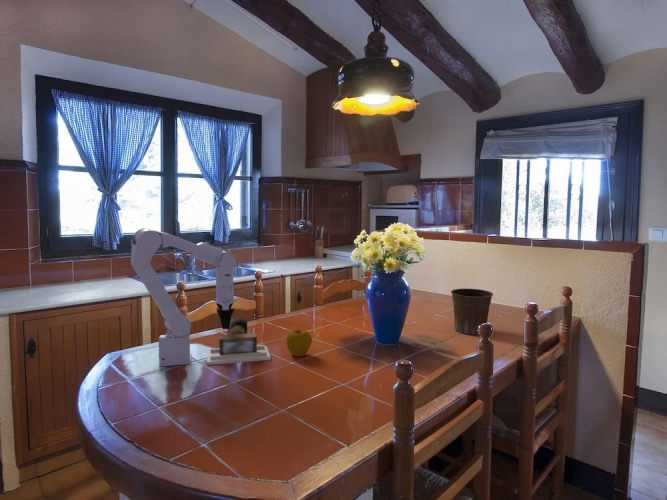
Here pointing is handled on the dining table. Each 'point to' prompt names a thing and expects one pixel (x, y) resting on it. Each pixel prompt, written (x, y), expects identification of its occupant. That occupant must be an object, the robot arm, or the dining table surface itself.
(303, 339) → the apple
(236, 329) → the condiment
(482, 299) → the plant pot
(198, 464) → the dining table surface
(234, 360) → the notch ledge
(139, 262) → the robot arm
